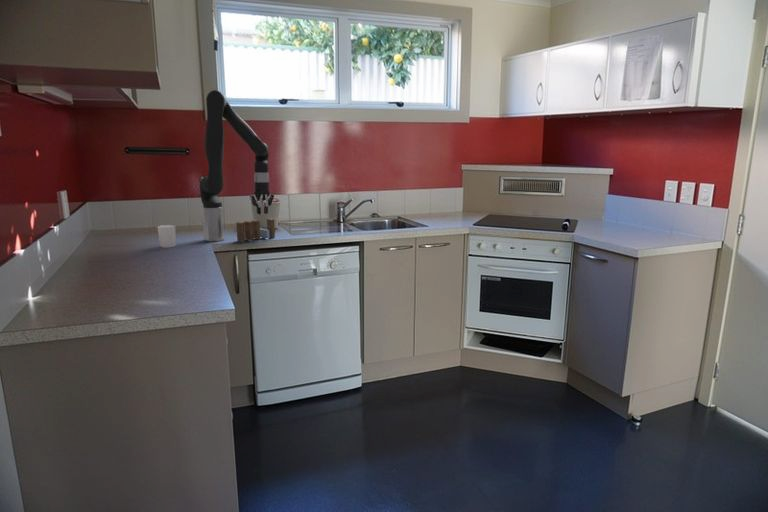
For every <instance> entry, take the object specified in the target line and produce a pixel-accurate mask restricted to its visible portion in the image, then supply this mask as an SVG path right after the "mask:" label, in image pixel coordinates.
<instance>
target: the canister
mask: <svg viewBox="0 0 768 512" xmlns="http://www.w3.org/2000/svg"><path fill="white" fill-rule="evenodd" d="M256 199H257V198H256V197H255V200H256ZM268 199H269V197H268ZM249 204H250V208H251V214H252V215H251V216H252V219H253V220H257V221H259V222H260V228H261V229H267V219H268V218H270V219H274V226H275V229H276V228H277V227H278V225H279V220H280V204H281V200H280V199H278V198H275V197H274V198H273V201H272V204H271V205H270V206H268V213H267V214H264V207H265V206H264V203H263V201H262V202H261V206H260V207H261V214H258V213H257V207H256V206H253V204H252V201H251V200H249Z"/></svg>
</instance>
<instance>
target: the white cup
mask: <svg viewBox="0 0 768 512" xmlns="http://www.w3.org/2000/svg"><path fill="white" fill-rule="evenodd" d="M157 232H158V238H159V246H160V248H165V249H167V248H168V249H169V248H175V247H176V225H174V224H173V225H172V224H165V225H164V224H163V225H160V226H159V225H158V226H157Z"/></svg>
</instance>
